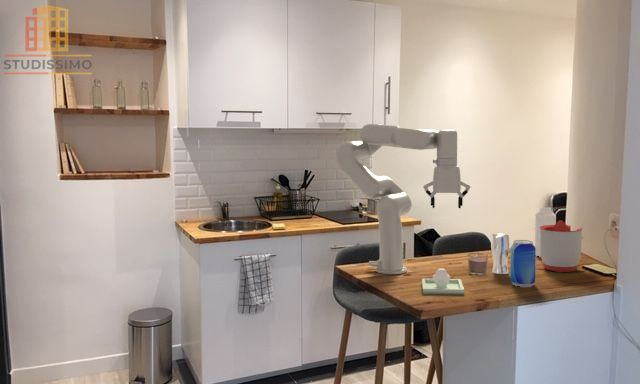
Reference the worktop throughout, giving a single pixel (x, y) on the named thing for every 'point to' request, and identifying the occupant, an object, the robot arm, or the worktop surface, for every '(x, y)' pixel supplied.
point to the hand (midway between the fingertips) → (446, 207)
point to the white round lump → (441, 278)
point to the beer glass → (500, 253)
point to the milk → (543, 219)
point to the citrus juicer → (560, 247)
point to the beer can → (523, 263)
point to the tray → (452, 288)
